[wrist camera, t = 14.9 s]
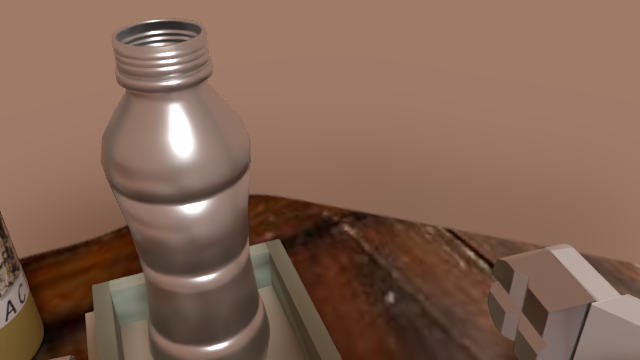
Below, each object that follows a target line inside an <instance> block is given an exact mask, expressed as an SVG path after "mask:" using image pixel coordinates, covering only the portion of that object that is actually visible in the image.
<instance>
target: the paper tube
mask: <svg viewBox="0 0 640 360" xmlns="http://www.w3.org/2000/svg"><path fill="white" fill-rule="evenodd" d="M43 335H44V328H43V323H42V320H41V317H40V315H39V312H38V309H37V307H36V304H35V302H34V299H33V296H32V294H31V291H30V289H29V286H28V282H27V280H26V277H25V274H24V272H23V269H22V267H21V264H20V262H19V259H18V256H17V254H16V251H15V248H14V246H13V243H12V241H11V238H10V235H9V233H8V230H7V228H6V225H5V223H4V220H3V218H2V215H1V212H0V360H32V359H33V357H34V356H35V355H36V353H37V351H38V349H39V347H40V345H41V343H42V340H43Z"/></svg>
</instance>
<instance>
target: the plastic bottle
mask: <svg viewBox="0 0 640 360" xmlns="http://www.w3.org/2000/svg"><path fill="white" fill-rule="evenodd" d="M112 45H113V50H114V55H115V60H116V67H115V74H116V79H117V82H118V84H119V85H120V86H122V87H124V88H126V92H125V94H124V95H123V97H122V98H121V100H120V102H119V103H118V105H117V107H116V108H115V110H114V112H113V114H112V116H111V118H110V120H109V123H108V125H107V127H106V129H105V131H104V134H103V137H102V146H101V164H102V166H103V169H104V172H105V175H106V178H107V180H108V182H109V184H110V187H111V189H112V191H113V193H114V196H115V198H116V200H117V202H118V204H119V207H120V209H121V211H122V213H123V215H124V218H125V220H126V222H127V224H128V226H129V229H130V232H131V235H132V238H133V241H134V245H135V248H136V251H137V253H138V255H139V260H140V263H141V266H142V269H143V272H144V278H145V285H146V293H147V300H148V308H149V317H148V335H149V347H150V354H151V356H152V358H153V360H265V359H266V357H267V352H268V346H269V339H270V323H269V320H268V316H267V313H266V309H265V306H264V304H263V301H262V298H261V296H260V294H259V292H258V288H257V284H256V279H255V275H254V270H253V266H252V261H251V257H250V252H249V237H248V236H249V234H248V212H247V209H248V193H249V177H250V162H251V160H250V138H249V136H248V134H247V131H246V129H245V127H244V125H243V122H242V120H241V118H240V116H239V115H238V114H237V113H236V112H235V110H234V109H233V108H232V107H231V106H230V104H229V103H228V102H227V101H226V100H225V99H224V98H223V97H222V96H221V95H220V94H219V93H218V92H217V91H216V90H215V89H214V88H213V87H212V86H211V85H210V84H209V83H208V81H207V79H208V78H209V77H210V76H211V75H212V73H213V65H212V59H211V57H210V56H209V51H208V42H207V33H206V31H205V27H204V26H203V25H202V24H201V23H198V22H196V21H192V20H187V19H176V18H175V19H174V18H166V19H152V20H146V21H141V22H136V23H133V24H129V25H126V26H124V27H121V28H120V29H118V30H116V31H115V32H114V33H113V35H112Z"/></svg>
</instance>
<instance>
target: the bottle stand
mask: <svg viewBox="0 0 640 360" xmlns="http://www.w3.org/2000/svg"><path fill="white" fill-rule="evenodd" d="M249 252H250V257H251V261H252V266H253V270H254V275H255V279H256V284H257V288H258V292H259V294H260V296H261V298H262V301H263V304H264V306H265V309H266V313H267V316H268V320H269V323H270V339H269V346H268V352H267V357H266V359H265V360H342V358H341V356H340V354H339V352H338V350H337V348H336V347H335V345H334V343H333V341H332V339H331V337H330V335H329V333H328V331H327V329H326V327H325V326H324V324H323V322H322V320H321V318H320V316H319V314H318V312H317V310H316V308H315V306H314V304H313V303H312V301H311V299H310V297H309V295H308V293H307V291H306V289H305V287H304V285H303V283H302V282H301V280H300V278H299V276H298V274H297V272H296V270H295V268H294V266H293V264H292V262H291V260H290V259H289V257H288V255H287V253H286V251H285V249H284V247H283V245H282V243H281V241H280V239H277V240H273V241H269V242H265V243H261V244H256V245H252V246H249ZM92 292H93V304H94V311H93V312H89V313H86V314H85V316H86V331H87V346H88V360H153V358H152V356H151V354H150V347H149V335H148V317H149V308H148V300H147V293H146V285H145V278H144V273H140V274H135V275H131V276H127V277H123V278H119V279H115V280H111V281H107V282H103V283H99V284H95V285H92Z"/></svg>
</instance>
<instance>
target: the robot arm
mask: <svg viewBox="0 0 640 360" xmlns="http://www.w3.org/2000/svg"><path fill="white" fill-rule="evenodd" d="M492 274H493V275H494V276H495V278H496V279H497V281H496V283H495V284H494V285H493V286H492V287H491V288H490V290H489V296H488V306H489V311H490V315H491V318H492V320H493V322H494V324H495V326H496V327H497V329H498V330H499V332H500V333H501V334H502V335H503V336H505V337H507V338H509V339H511V340H513V341H514V345H513V352H514V353H515V355H516V356H517V358H518V359H519V360H640V299H638V298H635V297H633V296H631V295H628V294H627V295H622V296H621V295H620V294H619V293H618V292H617V291H616V290H615V289H614V288H613V287H612V286H611V285H610V284H609V283H608V282H607V281H606V280H605V279H604V278H603V277H602V276H601V275H600V274H599V273H598V272H597V271H596V270H595V269H594V268H593V267H592V266H591V265H590V264H589V263H588V262H587V261H586V260H585V259H584V258H583V257H582V256H581V255H580V254H579V253H578V252H577V251H576V250H575V249H574V248H573V247H572V246H570V245H568V244H565V243H564V244H560V245H555V246H551V247H547V248H543V249H538V250H533V251H529V252H525V253H521V254H517V255H512V256H508V257H504V258H500V259H498V260H497V261H496V263H495V264H494V268H493V273H492ZM50 360H76V358H75V356H71V355H70V356H65V357H60V358H55V359H50Z"/></svg>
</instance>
